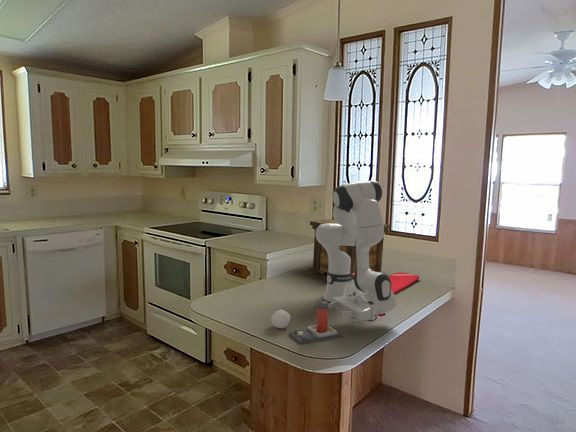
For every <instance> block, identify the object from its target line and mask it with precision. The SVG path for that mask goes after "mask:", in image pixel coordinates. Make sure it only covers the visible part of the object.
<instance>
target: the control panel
mask: <svg viewBox="0 0 576 432" xmlns="http://www.w3.org/2000/svg"><path fill="white" fill-rule="evenodd" d="M342 334H343V333H342V332H340V331H339V330H337V329H336V328H334V327H333V326H332V325H329V324H328V329H327V332H325V333H319V332H317V324H314V325H308V326H307V327H306V328H305V329H299V328H294V329H293V330H292V331H289V332H288V335H289V336H290V337H291V338H292V339H294V340H295V341H296V342H297V344H299V345H302V344H308V343H315V342H319V341H325V340H329V339H335V338H340V337H341V338H342Z"/></svg>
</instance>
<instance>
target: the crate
mask: <svg viewBox="0 0 576 432" xmlns="http://www.w3.org/2000/svg"><path fill="white" fill-rule="evenodd" d="M327 223H336V224H338V223H337V222H336V221H335V219H334V218H330V219H321V220H320V219H319V220H310V221H309V226H312V227H311V229H313V230H314V241H313V260H312V269H313V270H316V271H317V273H319V274H322V275H327V271H328V266H329V262H328V254H327V251H326V249H325V248H324V247H323V245H321V244H320V243H319V242H318V241H317V239H316V229H317V228H318V226H319V225H321V224H327ZM383 226H384V234H386V233H387V232H388V230H389V229H390V228H391V225H390V224H387V223H383ZM384 236H385V235H384ZM384 236H383V238H382V240H381V241H380V242H379V243H377V244H376V245H373V246H372V247H370V249H369V267H370V269H371V270H372V271H375V272H380V273H382V268H383V267H382V264H383V252H384V251H383V250H384V249H383V248H384V238H385V237H384ZM339 249H340V250H341V251H343V252H344V253H346V254H348V255H349V256H350V259H351V265H350V272H351V273H352V274H353V273H354V274H355V246H339ZM352 278H353V280H354V277H352Z"/></svg>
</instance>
